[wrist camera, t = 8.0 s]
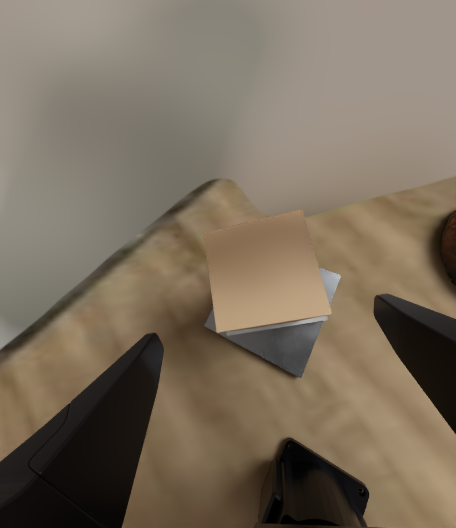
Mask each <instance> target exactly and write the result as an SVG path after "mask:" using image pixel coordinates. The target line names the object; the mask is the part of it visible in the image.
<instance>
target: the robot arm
mask: <svg viewBox="0 0 456 528" xmlns="http://www.w3.org/2000/svg"><path fill="white" fill-rule="evenodd" d="M374 317H375V319H376V320H377V322H378V324H379V326H380V327H381V329H382V331H383V332H384V334H385V336H386V337H387V339H388V341H389V343H390V344H391V346H392V348H393V349H394V351H395V352H396V354H397V355H398V357H399V358H400V360H401V361H402V362H403V364H404V365H405V366H406V368H407V369H408V371H409V372H410V373H411V375H412V376H413V377H414V379H415V380H416V381H417V383H418V384H419V385H420V387H421V388H422V389H423V391H424V392H425V393H426V395H427V396H428V398H429V399H430V400H431V402H432V403H433V404H434V406H435V407H436V408H437V410H438V411H439V412H440V414H441V415H442V416H443V418H444V419H445V420H446V422H447V423H448V425H449V426H450V427H451V429H452V430H453V431H454V433H455V434H456V319H454V318H452V317H449V316H446V315H443V314H441V313H438V312H435V311H433V310H430V309H427V308H425V307H422V306H419V305H417V304H414V303H411V302H409V301H406V300H403V299H401V298H398V297H395V296H393V295H390V294H381V295H377V296H375V298H374ZM163 353H164V348H163V345H162V343H161V341H160V339H159V337H158V335H157V334H156V333H149V334H146V335H145V336H144V337H143V338H141V339H140V340H139V341H138V342H137V343H136V344H135V345H134V346H133V347H131V348H130V349H129V350H128V351H127V352H126V353H125V354H124V355H122V356H121V357H120V358H119V359H118V360H117V361H116V362H115V363H114V364H112V365H111V366H110V367H109V368H108V369H107V370H106V371H105V372H104V373H102V374H101V375H100V376H99V377H98V378H97V379H96V380H95V381H93V382H92V383H91V384H90V385H89V386H88V387H87V388H86V389H85V390H83V391H82V392H81V393H80V394H79V395H78V396H77V397H76V398H75V399H73V400H72V401H71V403H70V404H68V405H67V406H66V407H64V408H63V409H62V410H61V411H60V412H59V413H58V414H57V415H56V416H54V417H53V418H52V419H51V420H50V421H49V422H48V423H46V424H45V425H44V426H43V427H42V428H41V429H39V430H38V431H37V432H36V433H35V434H33V435H32V436H31V437H30V438H29V439H27V440H26V441H25V442H24V443H22V444H21V445H20V446H19V447H18V448H16V449H15V450H14V451H13V452H12V453H10V454H9V455H8V456H7V457H5V458H4V459H3V460H2V461H1V462H0V528H122V524H123V521H124V517H125V513H126V509H127V505H128V501H129V497H130V494H131V490H132V486H133V482H134V478H135V474H136V470H137V467H138V463H139V459H140V455H141V451H142V447H143V443H144V439H145V436H146V432H147V428H148V424H149V420H150V416H151V412H152V409H153V405H154V401H155V397H156V393H157V389H158V384H159V379H160V372H161V366H162V359H163ZM289 444H293V445H294V447H293V448H290V447H289V446H288V445H289ZM359 489H363V490H364V491H363V493H359V492H358V490H359ZM368 499H369V491H368V489H367V488H366V486H365V484H364V483H362V482H361V481H359V480H358V479H356V478H355V477H353V476H351V475H350V474H348V473H347V472H345V471H344V470H342V469H340V468H339V467H337V466H336V465H334V464H333V463H331V462H329V461H328V460H326V459H325V458H323V457H321V456H320V455H318V454H317V453H315V452H314V451H312V450H310V449H309V448H307V447H306V446H304V445H302V444H301V443H299V442H298V441H296V440H295V439H293V438H288V439H287V440H286V441H285V444H284V446H283V449H282V451H281V454H280V457H279V459H278V461H277V460H274V461H272V464H271V467H270V469H269V472H268V474H267V477H266V479H265V482H264V485H263V487H262V490H261V497H260V507H259V514H258V523H256V524H255V526H254V528H377V527H367V524H366V522H365V520H364V518H363V515H364V512H365V508H366V505H367V502H368Z"/></svg>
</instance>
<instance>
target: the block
mask: <svg viewBox="0 0 456 528" xmlns="http://www.w3.org/2000/svg"><path fill="white" fill-rule="evenodd" d="M204 239H205V246H206V254H207V262H208V269H209V277H210V285H211V292H212V300H213V308H214V316H215V323H216V331H217V333H218V332H226V333H227V336H229V335H235V334H242V333H248V332H254V331H261V330H267V329H273V328H280V327H286V326H293V325H299V324H305V323H312V322H318V321H324V320H328V318H327V315H330V314H332V312H331V308H330V305H329V301H328V298H327V294H326V291H325V287H324V284H323V281H322V277H321V274H320V270H319V267H318V263H317V260H316V256H315V253H314V249H313V246H312V242H311V239H310V236H309V232H308V229H307V225H306V222H305V218H304V215H303V212H302V210H297V211H294V212H289V213H285V214H281V215H276V216H272V217H268V218H264V219H260V220H256V221H251V222H247V223H243V224H239V225H235V226H230V227H226V228H222V229H218V230H214V231H210V232H205V233H204Z"/></svg>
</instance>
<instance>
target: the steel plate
mask: <svg viewBox="0 0 456 528" xmlns="http://www.w3.org/2000/svg"><path fill="white" fill-rule="evenodd" d="M319 270H320V274H321V277H322V281H323V284H324V287H325V291H326V294H327V298H328V301H329V305H330V302H331V300H332V297H333V295H334V292H335V290H336V287H337V285H338V282H339V279H340V277H341V275H338V274H335V273H333V272H330V271H327V270H325V269H322V268H319ZM322 323H323V321H318V322H312V323H305V324H299V325H293V326H286V327H280V328H273V329H267V330H261V331H254V332H248V333H242V334H235V335H229V336H227V333H226V332H218V334H220V335H222V336H223V337H225V338H227V339H229V340H231V341H233V342H235V343H236V344H238V345H240V346H242V347H244V348H246V349H248V350H249V351H251V352H253V353H255V354H257V355H259V356H260V357H262V358H264V359H266V360H268V361H270V362H272V363H273V364H275V365H277V366H279V367H281V368H283V369H284V370H286V371H288V372H290V373H292V374H294V375H296V376H297V377H299V378H301V377H302V374H303V372H304V369H305V367H306V364H307V361H308V359H309V356H310V354H311V351H312V349H313V346H314V343H315V341H316V338H317V336H318V333H319V331H320V328H321V326H322ZM204 326H205V327H207V328H209V329H211V330H212V331H214V332H216V333H217V331H216V323H215V316H214V308H213V309H212V311H211V313H210V315H209V317H208V319H207V321H206V323H205V325H204Z"/></svg>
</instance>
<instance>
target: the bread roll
mask: <svg viewBox="0 0 456 528" xmlns="http://www.w3.org/2000/svg"><path fill="white" fill-rule="evenodd" d="M441 255H442V258H443V260H444V263H445V267H446V268H447V271H448V276H449V278H451V279H452V282H453V283H454V284H455V285H456V211H455V212H454V213H453V214H452V215H451V216H450V217H449V219H448V222H447V225H446V227H445V230H444V231H443V233H442V249H441Z"/></svg>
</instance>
